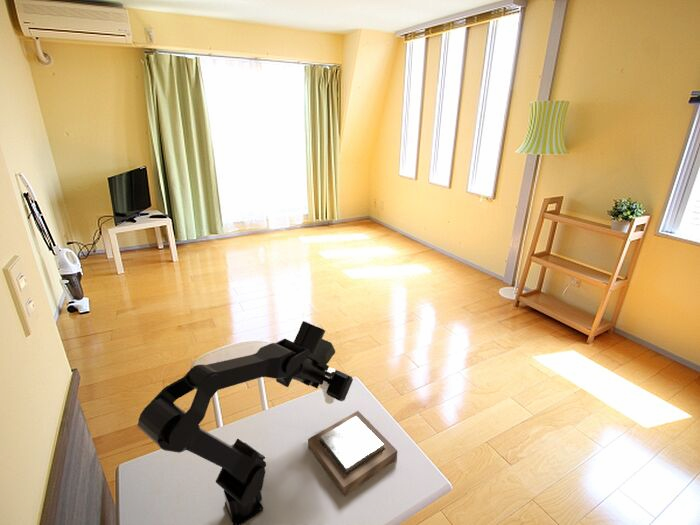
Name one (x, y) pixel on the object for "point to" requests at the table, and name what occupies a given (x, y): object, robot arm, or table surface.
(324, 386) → the lightbulb
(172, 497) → the table surface
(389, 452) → the brown picture frame
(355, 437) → the platform
